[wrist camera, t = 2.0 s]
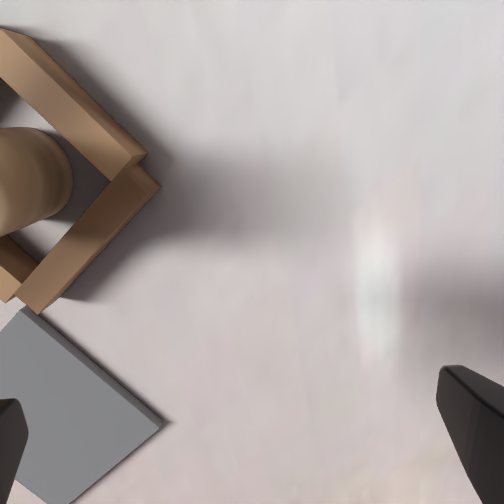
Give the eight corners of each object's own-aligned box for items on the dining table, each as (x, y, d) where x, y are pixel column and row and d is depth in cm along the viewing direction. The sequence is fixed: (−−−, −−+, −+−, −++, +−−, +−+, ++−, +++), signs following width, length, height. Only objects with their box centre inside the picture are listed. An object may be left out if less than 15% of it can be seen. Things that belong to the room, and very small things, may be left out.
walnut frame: (171, 175, 20) (158, 182, 18) (51, 306, 23) (29, 323, 21) (2, 9, 18) (-32, -3, 16) (-105, 172, 21) (-144, 178, 19)
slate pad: (162, 420, 24) (159, 428, 24) (63, 504, 27) (58, 512, 27) (26, 305, 23) (19, 310, 22) (-64, 406, 26) (-73, 413, 25)
